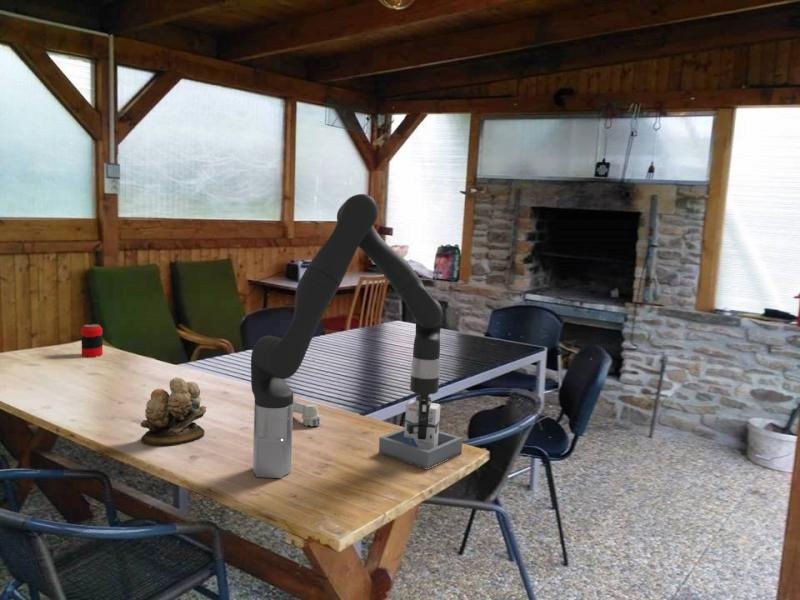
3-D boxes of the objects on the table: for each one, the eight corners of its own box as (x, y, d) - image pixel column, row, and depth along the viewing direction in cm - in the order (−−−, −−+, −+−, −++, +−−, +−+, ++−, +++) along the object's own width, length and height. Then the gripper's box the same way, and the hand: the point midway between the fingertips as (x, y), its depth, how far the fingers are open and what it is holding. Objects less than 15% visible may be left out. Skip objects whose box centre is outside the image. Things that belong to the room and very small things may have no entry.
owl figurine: (195, 426, 202) (196, 368, 199) (215, 438, 193) (217, 377, 191) (133, 437, 190) (134, 376, 187) (151, 450, 181) (152, 386, 179)
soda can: (99, 352, 282) (98, 323, 280) (105, 356, 276) (105, 326, 275) (79, 354, 277) (78, 324, 276) (85, 358, 272) (84, 327, 270)
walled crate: (461, 453, 191) (462, 438, 190) (427, 469, 178) (428, 452, 177) (414, 439, 200) (415, 424, 200) (378, 453, 188) (379, 437, 187)
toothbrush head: (281, 392, 226) (324, 402, 207) (282, 413, 227) (324, 424, 207) (266, 395, 223) (308, 404, 204) (267, 415, 223) (309, 427, 204)
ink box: (402, 446, 188) (405, 404, 186) (407, 441, 192) (410, 399, 191) (433, 451, 185) (436, 408, 184) (438, 445, 190) (440, 403, 188)
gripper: (440, 381, 179) (436, 445, 181) (437, 368, 193) (433, 427, 195) (411, 380, 179) (407, 443, 181) (410, 366, 193) (406, 425, 195)
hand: (421, 434), depth 188 cm, fingers closed on ink box, 6 cm apart
